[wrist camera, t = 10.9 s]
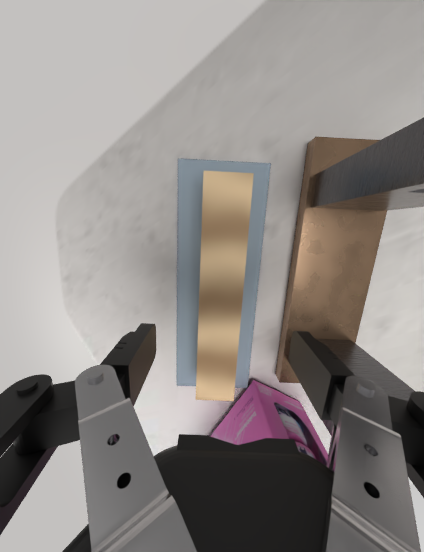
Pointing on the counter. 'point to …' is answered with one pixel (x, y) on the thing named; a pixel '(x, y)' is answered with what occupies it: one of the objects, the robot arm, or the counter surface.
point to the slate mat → (191, 256)
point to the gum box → (270, 421)
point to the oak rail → (221, 280)
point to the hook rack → (347, 243)
